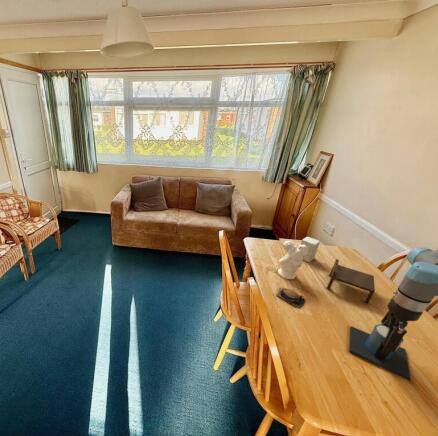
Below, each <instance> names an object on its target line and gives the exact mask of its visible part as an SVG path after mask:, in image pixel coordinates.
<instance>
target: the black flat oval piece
mask: <svg viewBox="0 0 438 436" xmlns="http://www.w3.org/2000/svg"><path fill="white" fill-rule="evenodd" d="M276 296H277V297H278V298H280V299H282V300H283V301H285V302H286V303H289V304H290V305H293V306H295V307H297V308H301V307H302V306H303V304H304V303H305V301H306V299H305V297H304V296H303V295H299V293H298V292H296V291H295V290H293V289H290V288H284V287H282V288H281V289H280V290H279V291H278V292H277V293H276Z"/></svg>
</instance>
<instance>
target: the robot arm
mask: <svg viewBox="0 0 438 436" xmlns="http://www.w3.org/2000/svg"><path fill="white" fill-rule="evenodd" d="M406 261H407V262H408V263H409V264H410V265H411V266H410V267H409V268H408V270H407V271H406V272H405V275H404V276H403V278H402V280H401V281H400V284H399V285H398V287H397V289H396V290H393V291H392V294H393V296H392V298H391V299H390V300H389V302H388V303H387V309H388V311H387V312H386V314H385V315H384V316H383V317H382V319H381V320H380V325H385V326H388V327H389V330H388V333H387V335H386V337H385V340H384V342H383V343H381V342H380V346H379V348H378V349H377V351H376V352H375V354H374V356H376V357H378V358H380V359H382V360H385V359H386V357H387V356H388V354H389V353H390V351H391V352H395V350H396V349H397V347H398V345H399V343H400V342H401V340H402V338H403V339H404V337H405V335H406V334H407V333H408V331H407V329H405V328H407V326H408V325H409V322H417V321H419V319H420V318H421V316H422V315H423V313H424V312H425V311H426V310H427V309H428V307H429V306H430V304H431V303H432V301H433V300H434V298H435V297H438V249H435V250H433V249H431V248H429V247H415V248H413V249H411V250H409V252H408V253H407V254H406Z"/></svg>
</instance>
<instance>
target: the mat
mask: <svg viewBox="0 0 438 436" xmlns="http://www.w3.org/2000/svg"><path fill="white" fill-rule="evenodd" d="M369 335H370V333H369V332H366V331H365V330H361V329H359V328H356V327H354V326H350V328H349V349H348V351H349V352H348V353H351V354H353V355H355V356H356V357H359V358H361V359H363V360H365V361H367V362H370V363H372V364H373V365H376V366H377V367H380V368H382V369H384V370H386V371H388V372H390V373H392V374H395V375H396V376H399V378H400V377H401V378H403V379H405V380H406V381H411V379H412V377H411V371H410V368H409V361H408V357H407V351H406V349H405V348H404V347H401V346H400V347H399V348H398V349H397V351H396V352H395V354H394V355H393V357H392V358H391V359H385V360H382V359H380V358H378V357H376V356H374V354H373V353H371V352H370V351H369V350H368V349H367V348H366V346H365V342H366V340H367V338H368V337H369Z"/></svg>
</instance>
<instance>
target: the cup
mask: <svg viewBox="0 0 438 436" xmlns="http://www.w3.org/2000/svg"><path fill="white" fill-rule="evenodd" d="M388 330H389V327H388V326H385V325H381V323H380V324H375V325H374V326H373V327H372V330H371V331H370V333H369V334H370V335H369V337H368V338H367V340H366V342H365V346H366V348H367V349H368V350H369V351H370V352H371V353H373V354H375V352H376V351H377V349H378V348H379V346H380V342H381V343H383V342H384V340H385V337H386V335H387V333H388ZM403 342H404V337H403V338H402V340H401V342H400V343H399V345H398V347H397V349H398V348H399V347H401V345H402V344H403ZM397 349H396V350H395V352H396V351H397ZM395 352H391V351H390V353H389V354H388V356H387V357H386V359H391V358H392V357H393V355H394V354H395Z"/></svg>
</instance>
